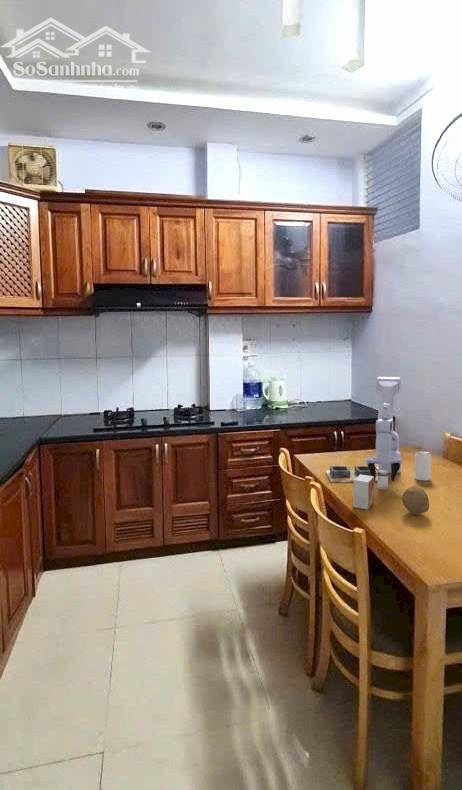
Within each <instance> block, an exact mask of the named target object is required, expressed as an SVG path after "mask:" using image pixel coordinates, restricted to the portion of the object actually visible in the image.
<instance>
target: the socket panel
mask: <svg viewBox="0 0 462 790" xmlns="http://www.w3.org/2000/svg"><path fill="white" fill-rule="evenodd" d="M376 470H377V469H375V482H374V483H378V474H377V471H376ZM325 473H326V475H327V477H328V479H329V482H330V483H354V479H356V478H357V477H358V476H359V475H360V474H361V475H368V476H371V473H370V470H369V467H368V465H354V470H351V469H350V468H349V467H348V465H329V469H328V470H326V469H325Z"/></svg>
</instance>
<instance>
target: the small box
mask: <svg viewBox="0 0 462 790" xmlns="http://www.w3.org/2000/svg"><path fill="white" fill-rule="evenodd" d="M352 493H353V496H352V498H353V499H352V503H353V504H352V507H353V508H356V509H362V510H369V509H370V508H371V506H372V505H374V504H375V503H374V497H375V496H374V495H375V482H374V476H368V475H361V474H360V475H359V476H358V477H357V478H356V479H354V482H353V491H352Z"/></svg>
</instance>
